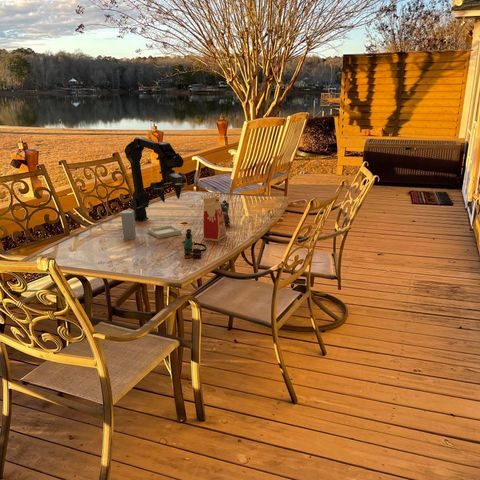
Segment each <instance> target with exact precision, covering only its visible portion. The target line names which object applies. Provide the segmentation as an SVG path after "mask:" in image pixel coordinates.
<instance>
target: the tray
mask: <svg viewBox="0 0 480 480" xmlns="http://www.w3.org/2000/svg"><path fill="white" fill-rule="evenodd" d="M147 233H148V234H150V235H151V236H153V237H154V238H156V239H163V238H168V237H175V236H179V235H182V230H181V229H180V228H178V227H176V226H174V225H172V224H168V225H162V226H158V227H157V226H155V227H150V228H147Z"/></svg>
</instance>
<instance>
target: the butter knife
mask: <svg viewBox="0 0 480 480" xmlns="http://www.w3.org/2000/svg"><path fill="white" fill-rule="evenodd" d="M177 252H178V250H176V249H174V250H171V251H170V252H169V253H167V254H166V255H165V256H164V257H162V258H163V259H164V258H165V259H167V258H168V256H169V257H171V256H172V255H174V254H175V253H177ZM166 257H167V258H166ZM165 259H164V260H165Z"/></svg>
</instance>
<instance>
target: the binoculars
mask: <svg viewBox="0 0 480 480" xmlns="http://www.w3.org/2000/svg"><path fill="white" fill-rule="evenodd" d="M185 232H186V233H185V235H184V240H182V242H181V243H182V244H183V249H184V250H183V251H184V255H183V258H184V259H188V258H189V259H190V258H191V257H193V258H198V259H199V258H202V253H203V252H206V251H208V250H207V249H208V248H207V245H206V244H204V243H200V242H195V241H193V234H192V229H190V228H188V229H186V231H185ZM195 246H201V247H203V249H202V248H201V249H200V248H195Z"/></svg>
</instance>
